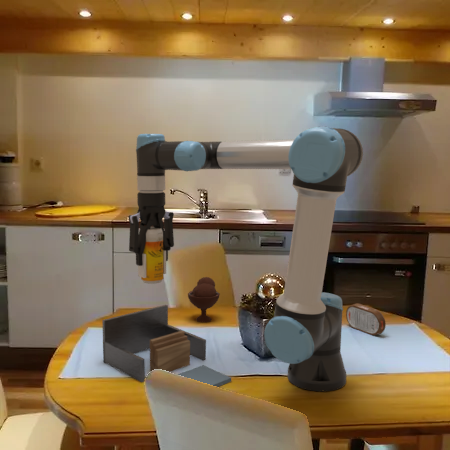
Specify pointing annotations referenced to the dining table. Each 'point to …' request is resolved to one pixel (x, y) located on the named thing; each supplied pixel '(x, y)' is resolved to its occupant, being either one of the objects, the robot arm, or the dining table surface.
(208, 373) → the mat
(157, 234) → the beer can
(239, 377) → the dining table surface
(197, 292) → the ice cream bowl
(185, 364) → the offcuts
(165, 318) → the grey open frame
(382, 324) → the tin
